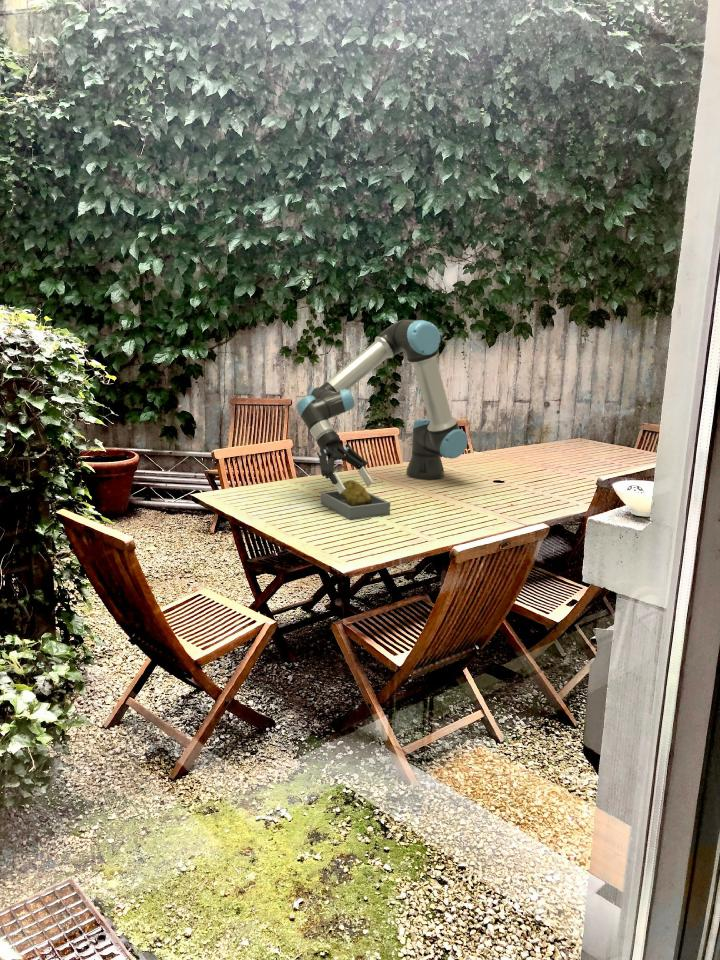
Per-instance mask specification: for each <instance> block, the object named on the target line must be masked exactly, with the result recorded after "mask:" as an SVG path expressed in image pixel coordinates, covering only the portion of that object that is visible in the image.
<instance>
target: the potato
mask: <svg viewBox="0 0 720 960" xmlns="http://www.w3.org/2000/svg"><path fill="white" fill-rule="evenodd" d="M342 484H343V485H344V487H345V490H344V491H343V492H342V493H341V495H342V497H343V498H344V499H345V500H346V501H347V503H348V505H349V506H351V507H353V506H361V505H369V504H371V503H372V500H371V497H370V495H369V494H368V493H369V492H368V490H366V487H364V486H362V485H361V484H360V483H359V482H358V481H355V480H347V481H344V482H342ZM367 492H368V493H367Z"/></svg>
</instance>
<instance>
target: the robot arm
mask: <svg viewBox="0 0 720 960" xmlns="http://www.w3.org/2000/svg"><path fill="white" fill-rule="evenodd" d="M440 344H441V333H440V331H439V329H438V327H437V326H436V325H435V324H434V323H432V322H430V321H427V320H423V319H419V320H415V319H401V320H398V321H396V322H394V323H393V324H391V325H390V326H388V327H387V328H385V329H384V330H383V331H381V333H380V334H378V335H377V336H375V338H374V342H373V343H372V344H370V345H369V346H368V347H367V348H365V349H364V350H363V351H362V352H361V353H359V354H358V355H357V356H356V357H355V358H353V359H352V360H351V361H350V362H348V363H347V364H346V365H345V366H344V367H342V368H341V369H340V370H339V371H338V372H336V373H335V374H334V375H333V376H332V377H331V378H329V379H328V380H327V381H325V382H323V384H322V385H321V386H315V387H312V388H311V389H310V390H309V391H308V392H307V395H306V396H303V397H302V398H300V399H299V400H298V402H297V403H296V406H295V407H296V410H297V413H298V415H299V417H300V418H301V420H302V422H303V423H304V424H305V426H306V427H307V429H308V430H309V432H310V434H311V436H312V437H313V439H314V441H315V442H316V445H317V446H318V448H319V450H318V451H317V452H316V455H317V457H318V460H319V466H320V474H321V476H322V477H325V478H326V479H329V481H331V483H332V484H331V485H334V487H335V488H336V491H338V492H339V494H341V493H342V492H343V491H344V490H345V487H344V485H343V482H342V479H340V477H339V475H338V473H337V472H334V470H335V463H336V461H343V462H346V463H348V464H349V465H351V466H352V467H354V468H356V469H357V470H358V471H357V472H358V474H359V476H360V477H361V479H362V480H363V482H364V484H365V485H366V487H367V488H369V487H370V486H371V485H372V484H373V483H374V481H373V479H372V478H371V476H370V473H369V471H368V470H367V468H366V466H367V465H368V461H366V460H365V459H364V458H363V457H362V456H361V455H360V454H359V453H357V452H356V451H355V450H354V449H353V448H352V447H351V446H350V444H349V443H346V444H345V445H342V444H341V437H339V435H338V434H337V432H336V431H335V428H334V427H333V425H332V424H331V422H330V421H329V419H331V418H333V417H337V416H339V415H341V414H344V413H347V412H348V411H351V410H352V409H354V407H355V398H354V395H353V394H352V392H351V391H350V389H352V388H353V387H354V386H355V385H356V384H357V383H359V382H360V381H362V379H364V378H365V377H366V376H367V375H368V374H370V372H371V373H372V371H373V370H374V369H376V367H378V366H379V365H380V364H382V363H383V362H384V361H385V360H387V359H392V358H393V357H394V356H395V355H397V354H399V353H402V352H405V356H406V359H407V362H408V363H409V364H411V365H413V368H414V372H415V375H416V379H417V382H418V385H419V390H420V392H421V397H422V398H423V399H422V400H423V403H424V407H425V410H426V414H427V417H428V418H421V419H416V420H414V422H413V426H412V442H411V443H412V445H411V458H410V460H409V463H408V464H407V468H406V476H407V477H409V478H414V479H421V480H437V479H438V478H439V479H442V478H444V477H445V471H444V470H445V469H444V466H443V461H442V458H446V459H457V458H458V457H460V456H462V454H464V453H465V451H466V448H467V446H468V443H469V442H468V435H467V433H466V432H465V431H464V430H463V429H460V426H459V423H458V419H457V418H456V417H454V416H453V415H452V411H451V409H450V405H449V402H448V397H447V393H446V390H445V386H444V382H443V380H442V375H441V371H440V368H439V364H438V361H437V356H438V355H439V352H440V351H439V347H440ZM441 457H442V458H441ZM443 476H444V477H443ZM441 477H442V478H441Z"/></svg>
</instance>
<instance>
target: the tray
mask: <svg viewBox="0 0 720 960" xmlns="http://www.w3.org/2000/svg"><path fill="white" fill-rule="evenodd" d="M367 493H368V494H369V495H370V497H371V500H372V503H371V504H369V505H361V506H353V507H351V506H349V505H348V503H347V501H346V500H345V499H344V498H343V497H342V495H341V494H339V492H338V490H334V491H332V490H331V491H326V492H325V491H324V492H321V493H320V505H322V506H324V507H326V508H327V509H329V510H330V511H333V512H334V513H336V514H338V515H340V516H342V517H344V518H346V519H348V520H349V521H352V520H359V519H367V518H368V519H369V518H373V517H382V516H387V515H390V514H391V502H389V501H388V500H385V499H383V498H381V497H378V496H377V495H374V494H372V493H370V492H368V491H367Z"/></svg>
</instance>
